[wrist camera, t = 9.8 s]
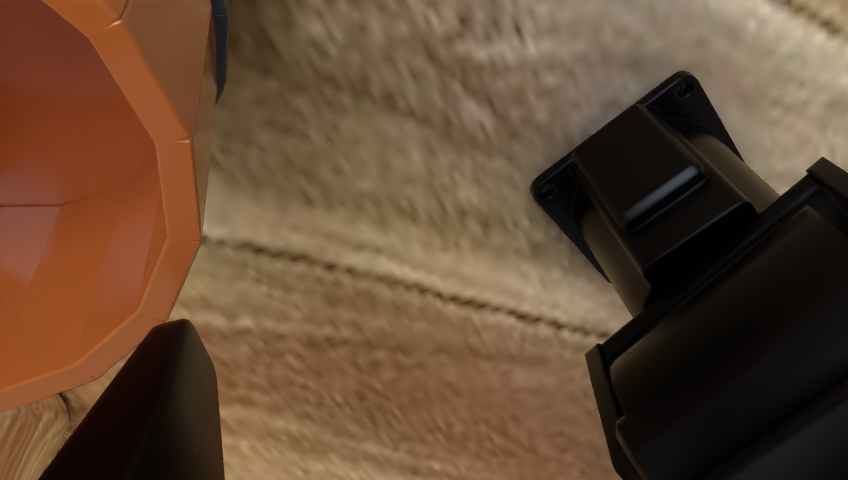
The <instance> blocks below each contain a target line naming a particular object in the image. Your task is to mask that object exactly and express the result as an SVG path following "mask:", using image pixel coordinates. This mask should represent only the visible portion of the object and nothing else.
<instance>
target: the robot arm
mask: <svg viewBox="0 0 848 480" xmlns="http://www.w3.org/2000/svg"><path fill="white" fill-rule="evenodd" d="M685 83H686V86H685V88H684V89H683V90H682V91H680V92H677V91H678V88H679V87H680V86H681V85H683V84H685ZM806 172H807V173H808V174H807V175H806V176H804V177H803V178H802V179H801V180H800V181H798V182H797V183H796V184H795V185H793V186H792V187H791V188H790V189H789V190H787V191H786V192H785V193H784V194H783V195H781V196H780V195H779V194H778V193H777V192H776V191H775V190H773V189H772V188H771V187H770V186H769V185H768V184H767V183H766V182H765V181H764V180H763V179H761V178H760V177H759V176H758V175H757V174H756V173H755V172H754V171H753V170H752V169H751V168H749V167H748V166H747V165H746V164H745V162H744V161H743V159H742V157H741V155H740V154H739V152H738V150H737V148H736V147H735V145H734V143H733V141H732V139H731V138H730V136H729V134H728V132H727V131H726V129H725V127H724V125H723V124H722V122H721V120H720V118H719V117H718V115H717V113H716V111H715V109H714V108H713V106H712V104H711V102H710V101H709V99H708V97H707V95H706V94H705V92H704V90H703V88H702V87H701V85H700V83H699V81H698V80H697V79H696V78H695V77H694V76H693V75H691V74H690V73H689V72H686V71H680V72H677V73H675V74H673V75H672V76H671V77H669V78H668V79H667V80H665V81H664V82H663V83H661V84H660V85H659V86H657V87H656V88H655V89H653V90H652V91H651V92H649V93H648V94H647V95H645V96H644V97H643V98H641V99H640V100H639V101H637V102H636V103H635V104H633V105H632V106H630V107H629V108H628V109H626V110H625V111H624V112H622V113H621V114H620V115H618V116H617V117H616V118H614V119H613V120H612V121H611V122H609V123H608V124H607V125H605V126H604V127H603V128H601V129H600V130H599V131H597V132H596V133H595V134H593V135H592V136H591V137H589V138H588V139H587V140H585V141H584V142H583V143H581V144H580V145H579V146H577V147H576V148H575V149H574V150H572V151H571V152H570V153H568V154H567V155H566V156H564V157H563V158H562V159H560V160H559V161H558V162H556V163H555V164H554V165H553V166H551V167H550V168H549V169H547V170H546V171H545V172H543V173H542V174H541V175H539V176H538V177H537V178H536V179H535V180H534V181H533V182H532V184H531V186H530V191H531V193H532V195H533V197H534V199H535V200H536V202H537V203H538V204H539V205H540V206H541V207H542V208H543V210H544V211H545V212H546V213H547V214H548V215H549V216H550V217H551V218H552V220H553V221H554V222H555V223H556V224H557V225H558V226H559V227H560V229H561V230H562V231H563V232H564V233H565V234H566V235H567V236H568V237H569V239H570V240H571V241H572V242H573V243H574V244H575V245H576V246H577V248H578V249H579V250H580V251H581V252H582V253H583V254H584V255H585V256H586V258H587V259H588V260H589V261H590V262H591V263H592V264H593V265H594V267H595V268H596V269H597V270H598V271H599V272H600V273H601V274H602V275H603V277H604V278H605V279H606V280H607V281H608V282H609V283H611V284H612V285H613V286H614V288H615V290H616V291H617V293H618V294H619V296H620V298H621V299H622V301H623V302H624V304H625V306H626V307H627V309H628V310H629V312H630V314H631V315H632V317H633V319H632V320H630V321H629V322H628V323H627V324H626V325H624V326H623V327H622V328H621V329H619V330H618V331H617V332H616V333H615V334H613V335H612V336H611V337H610V338H609V339H607V340H606V341H605V342H604V343H603V344H599V343H598V344H596V345H595V346H594V347H593V348H592V349H590V350H589V351H588V352H587V353H586V354H585V357H586V361H587V365H588V369H589V373H590V379H591V383H592V387H593V391H594V394H595V398H596V402H597V406H598V410H599V414H600V418H601V422H602V425H603V429H604V433H605V437H606V441H607V445H608V449H609V453H610V456H611V460H612V464H613V467H614V469H615V470H616V472H617V473H618V475H619V476H620V477H621V478H622V479H623V480H848V173H847V172H846V171H844V170H842V169H841V168H839V167H838V166H836V165H835V164H833V163H832V162H830V161H829V160H827V159H825V158H824V157H822V158H820V159H819V160H818V161H817V162H816V163H814V164H813V165H812V166H811V167H810V168H808V169H807V170H806ZM547 186H550V188H549V189H548V191H546V192H541V190H542V189H543V188H545V187H547ZM38 480H225V478H224V464H223V451H222V438H221V426H220V413H219V400H218V388H217V377H216V372H215V368H214V365H213V363H212V360H211V358H210V356H209V354H208V352H207V350H206V349H205V347H204V345H203V343H202V341H201V339H200V337H199V335H198V333H197V331H196V329H195V327H194V325H193V324H192V323H191V322H190V321H189V320H187V319H179V320H175V321H171V322H167V323H163V324H159V325H156V326H154V327H153V328H152V329H151V330H150V331H149V332H148V334H147V335H146V336H145V338H144V339H143V340H142V342H141V343H140V344H139V346H138V347H137V348H136V350H135V351H134V352H133V354H132V355H131V356H130V358H129V359H128V360H127V362H126V363H125V364H124V366H123V367H122V368H121V370H120V371H119V372H118V374H117V375H116V376H115V378H114V379H113V380H112V382H111V383H110V384H109V385H108V387H107V388H106V389H105V391H104V392H103V393H102V395H101V396H100V397H99V399H98V400H97V401H96V403H95V404H94V405H93V407H92V408H91V409H90V411H89V412H88V413H87V415H86V416H85V417H84V419H83V420H82V421H81V423H80V424H79V425H78V427H77V428H76V429H75V431H74V432H73V433H72V435H71V436H70V437H69V439H68V440H67V441H66V443H65V444H64V445H63V447H62V448H61V449H60V451H59V452H58V453H57V454H56V456H55V457H54V458H53V460H52V461H51V462H50V464H49V465H48V466H47V468H46V469H45V470H44V472H43V473H42V474H41V476H40V477H39V478H38Z"/></svg>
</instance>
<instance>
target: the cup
mask: <svg viewBox="0 0 848 480" xmlns="http://www.w3.org/2000/svg"><path fill="white" fill-rule="evenodd" d="M216 93H217V69H216V30H215V23H214V16H213V9H212V5H211V1H210V0H0V412H1V413H4V412H7V411H10V410H13V409H16V408H18V407H21V406H24V405H27V404H30V403H33V402H35V401H38V400H41V399H44V398H47V397H50V396H53V395H55V394H58V393H61V392H64V391H67V390H70V389H72V388H75V387H78V386H81V385H84V384H87V383H90V382H92V381H94V380H95V379H98V378H100V377H101V376H102V375H103V374H104V373H106V372H107V371H108V370H109V369H110V368H112V367H113V366H114V365H115V364H117V363H118V362H119V361H120V360H121V359H123V358H124V357H125V356H126V355H127V354H129V353H130V352H131V351H132V350H133V349H135V348H136V347H137V346H138V345H139V344H140V343H141V342H142V340H143V339H144V338H145V336H146V335H147V334H148V332H149V331H150V330H151V329H152V328H153V327H154V326H156V325H159V324H163V323H165V321H167V319H168V318H169V316H170V314H171V312H172V309H173V307H174V305H175V302H176V300H177V298H178V296H179V293H180V291H181V289H182V286H183V284H184V282H185V279H186V277H187V275H188V273H189V270H190V268H191V266H192V263H193V261H194V259H195V257H196V254H197V252H198V250H199V247H200V245H201V242H202V235H203V225H204V214H205V204H206V194H207V184H208V174H209V164H210V154H211V143H212V133H213V123H214V113H215V103H216Z"/></svg>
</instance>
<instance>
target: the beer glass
mask: <svg viewBox="0 0 848 480" xmlns="http://www.w3.org/2000/svg"><path fill="white" fill-rule="evenodd" d="M68 427H69V413H68V409H67V406H66V404H65V402H64V400H63V398H62V397H61V396H60V394H59V393H58V394H55V395H53V396H50V397H47V398H44V399H41V400H38V401H35V402H33V403H30V404H27V405H24V406H21V407H18V408H16V409H13V410H10V411H7V412H4V413H1V412H0V480H38V478H39V477H40V476H41V474H42V473H43V472H44V470H45V469H46V468H47V466H48V465H49V464H50V462H51V461H52V460H53V458H54V457H55V456H56V454H57V453H58V452H59V450H60V448H61V446H62V443H63V441H64V439H65V437H66V434H67V431H68Z"/></svg>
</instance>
